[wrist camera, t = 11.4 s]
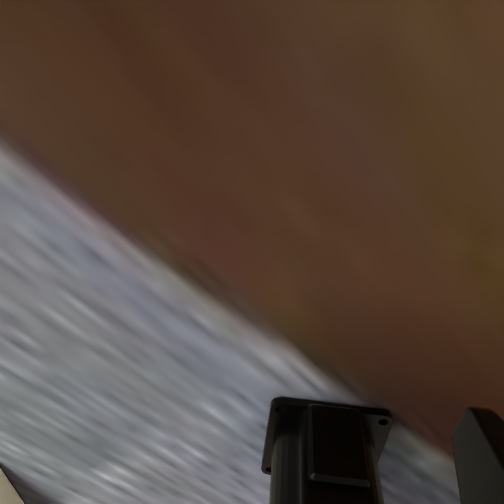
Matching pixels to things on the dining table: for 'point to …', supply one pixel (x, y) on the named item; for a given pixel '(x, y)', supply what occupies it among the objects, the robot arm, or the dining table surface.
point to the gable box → (8, 491)
